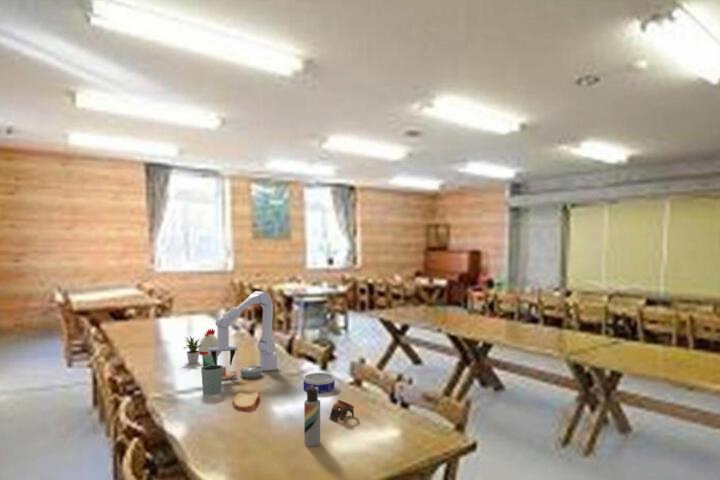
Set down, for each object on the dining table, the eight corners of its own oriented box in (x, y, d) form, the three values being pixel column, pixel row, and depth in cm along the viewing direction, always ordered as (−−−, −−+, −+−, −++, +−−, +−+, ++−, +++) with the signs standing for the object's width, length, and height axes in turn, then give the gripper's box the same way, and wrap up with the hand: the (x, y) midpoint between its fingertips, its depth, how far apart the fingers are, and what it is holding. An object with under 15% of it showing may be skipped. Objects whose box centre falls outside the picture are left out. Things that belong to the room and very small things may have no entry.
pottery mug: (326, 417, 204) (334, 397, 206) (346, 426, 205) (354, 406, 207) (331, 419, 192) (339, 399, 195) (353, 429, 193) (361, 408, 196)
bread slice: (247, 413, 207) (247, 404, 207) (218, 405, 217) (218, 397, 217) (277, 402, 222) (277, 393, 222) (249, 395, 232) (249, 387, 232)
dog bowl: (339, 386, 246) (339, 373, 246) (327, 395, 231) (327, 382, 231) (311, 383, 251) (311, 371, 251) (298, 391, 236) (298, 379, 236)
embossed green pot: (203, 396, 228) (203, 370, 228) (199, 390, 237) (199, 366, 237) (225, 393, 233) (225, 368, 233) (220, 387, 242) (220, 363, 242)
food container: (212, 373, 269) (212, 354, 269) (201, 372, 270) (201, 354, 270) (222, 367, 281) (222, 350, 281) (213, 366, 282) (213, 349, 282)
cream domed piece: (225, 351, 322) (225, 328, 322) (208, 355, 310) (208, 331, 311) (210, 348, 330) (210, 326, 330) (193, 352, 318) (193, 329, 318)
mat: (235, 372, 271) (235, 371, 271) (237, 379, 257) (237, 377, 257) (205, 374, 266) (205, 373, 266) (205, 381, 252) (205, 380, 252)
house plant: (173, 363, 289) (173, 336, 289) (189, 358, 302) (189, 332, 302) (192, 366, 284) (192, 337, 284) (208, 360, 297) (208, 333, 297)
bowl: (260, 372, 270) (260, 365, 270) (263, 377, 260) (263, 370, 260) (239, 374, 267) (239, 366, 267) (241, 379, 256) (241, 371, 256)
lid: (237, 373, 267) (237, 364, 267) (231, 379, 255) (231, 370, 255) (215, 373, 267) (215, 364, 267) (208, 379, 255) (208, 370, 255)
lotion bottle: (311, 439, 180) (311, 384, 180) (323, 442, 177) (323, 386, 177) (301, 444, 175) (301, 388, 175) (313, 448, 172) (313, 390, 172)
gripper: (236, 336, 267) (236, 361, 267) (208, 338, 263) (208, 364, 263) (237, 339, 260) (237, 365, 260) (208, 341, 256) (209, 367, 256)
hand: (223, 364), depth 261 cm, fingers open, 7 cm apart
